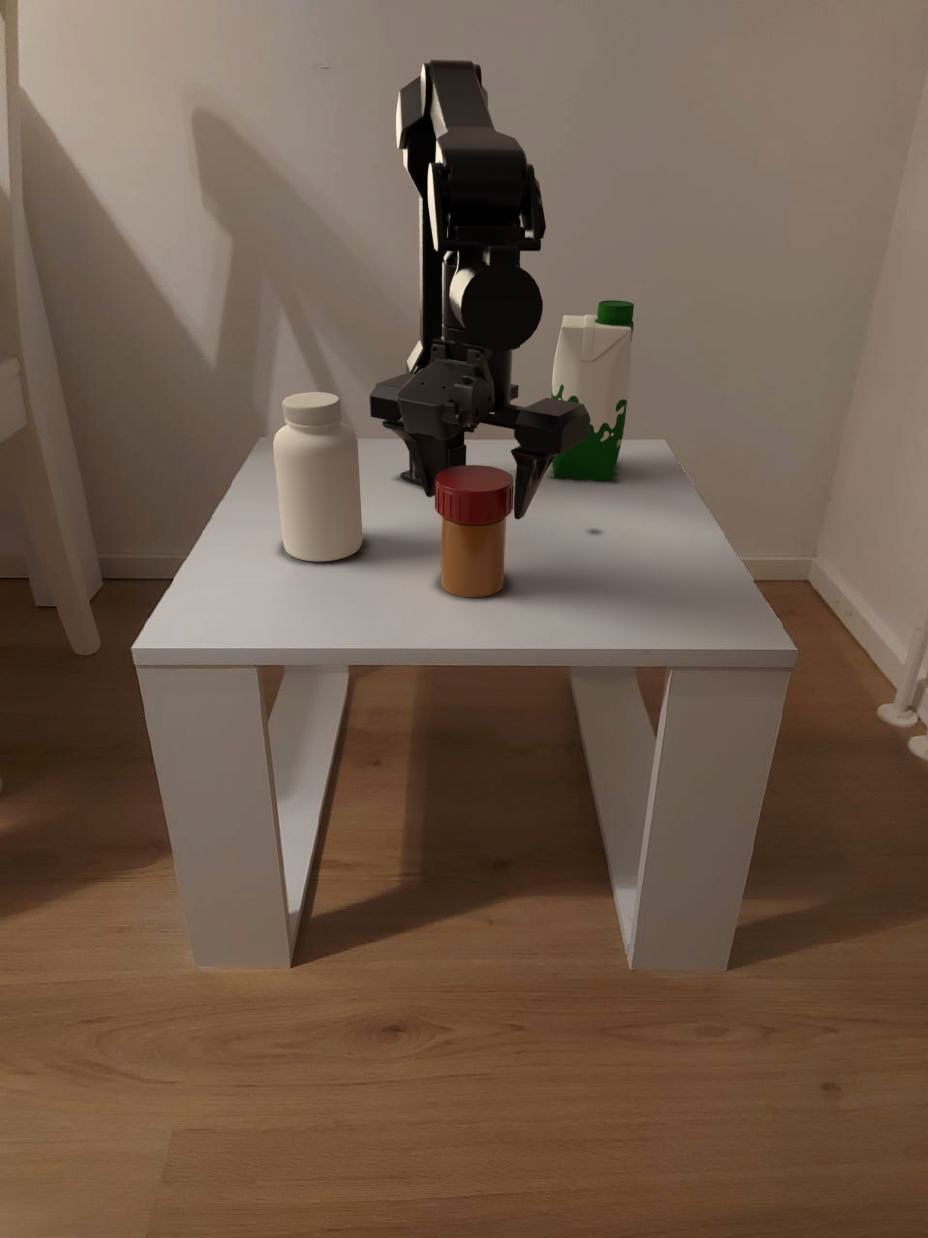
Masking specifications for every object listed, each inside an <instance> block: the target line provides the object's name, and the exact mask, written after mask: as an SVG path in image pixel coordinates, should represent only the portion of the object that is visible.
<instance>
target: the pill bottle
mask: <svg viewBox="0 0 928 1238" xmlns="http://www.w3.org/2000/svg"><path fill="white" fill-rule="evenodd" d="M281 404H282V414H283V417H284V422H285V423H286V425H285V424H284V426H282V427H281V428H280V429H279V430H278V431H277V432H276V433H275V435H274V438H273V443H272V447H273V458H274V467H275V478H276V489H277V497H278V508H279V517H280V528H281V538H282V543H283V548H284V549H285V551H286V553H287V554H288V555H289V556H291V557H294V558H295V559H297V560H302V561H307V562H331V561H337V560H340V559H341V560H342V559H345V558H347V557H349V556H352V555H353V554H355V553H356V552H357V551H359V549H360V548H361V546H362V543H363V519H362V500H361V497H362V496H361V479H360V478H361V477H360V459H359V458H360V457H359V442H358V438H357V435H356V432H355V431H354V430H353V429H352V428H351V427H350V426H348V425H347V424H345V423H344V422H342V421H343V415H342V403H341V399H340V397H339V396H338V395H336V394H333V393H329V392H323V391H309V392H300V393H295V394H291V395H288V396H287V397H285V398H284V399H283V400H282V403H281Z"/></svg>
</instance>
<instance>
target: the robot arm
mask: <svg viewBox="0 0 928 1238" xmlns="http://www.w3.org/2000/svg"><path fill="white" fill-rule="evenodd" d="M420 71H421V72H420V75H419V76H417V77H416V78H415V79H413V80H412V81H411V82H409V83H408V84H406V85H405V86H403V87H402V88H401V89H400V90H399V91H398V98H397V106H396V114H395V115H396V117H395V118H396V119H395V130H396V131H395V133H396V147H397V150H402V155H403V156H402V157H403V158H402V159H403V166H404V169H405V171H406V172H407V175H408V177H409V178H410V180H411V182H412V184H413V186H414V188H415V190H416V192H417V194H418V233H419V234H418V237H419V239H418V241H419V247H418V248H419V249H418V250H419V259H418V260H419V263H418V264H419V265H418V266H419V267H418V268H419V269H418V271H419V274H418V275H419V340H418V341H417V343H416V345H415V347H414V348H413V350H412V352H411V353H410V355H409V357H408V358H407V359H406V363H405V373H403V374H399V375H396V376H394V377H391V378H388V379H385V380H382V381H379V382H375V384H374V386H373V387H372V390H371V391H370V394H369V397H368V398H369V415H370V417H371V418H375V419H379V420H382V421H381V425H382V426H383V427H384V428H385V429H387V430H390V431H392V432H393V433H394V434H396V435H397V436H398V437H399V438H400V439H402V440H403V443H404V444H405V447H406V448H407V451H408V462H409V463H408V464H409V465H408V466H409V468H408V470H405V471H403V472H400V473H399V478H400V479H403V480H405V481H409V482H412V483H414V484H417V485H420V486H422V488H423V491H424V494H425V496H426V497H427V498H432V497H435V482H436V475H437V474H438V473H439V472H441V471H442V470H444V469H447V468H451V467H455V466H463V465H467V444H465V433H473V434H474V433H475V429H478V426H479V425H480V424H484V425H489V426H496V427H499V428H504V429H509V430H513V437H514V439H515V440H516V441H517V443H518V444H519V445H517V446H516V447H514V448H512V449H510V453H511V455H512V457H513V459H514V461H515V463H516V471H515V483H514V494H513V514H514V515H513V517H514V519H515V520H521V519H522V518H524V517H525V515H526V513H527V511H528V509H529V507H530V505H531V503H532V501H533V500H534V497H535V495H536V492H537V491H538V488H539V487H540V484H541V483H542V481H543V478H544V477H545V475H546V473H547V471H548V469H549V468H550V466H551V465H552V461H553V460H554V458H555V457H556V455H557V454H559V453H562V452H564V451H566V450H567V449H569V448H571V447H573V446H574V445H576V444H578V443H580V442H581V441H583V440H585V439H587V438H588V437H589V429H590V416H589V414H588V412H587V410H586V408H585V406H584V404H581V403H575V402H569V401H563V400H558V399H552V398H551V397H545V398H543V399H541V400H538V401H535V402H534V403H532V404H530V405H527V406H522V405H517V404H516V405H515V404H511V401H513V400H515V399H517V398H519V389H520V388H519V387H520V386H519V385H518V384H512V370H513V369H512V368H513V366H512V365H513V351H515V350H518V349H521V346H522V345H523V344H525V343H526V342H527V341H528V340H530V338H532V336H533V335H534V333H535V332H536V331H537V329H538V327H539V325H540V323H541V320H542V316H543V312H544V311H543V310H544V309H543V308H544V300H543V298H542V294H541V290H540V287H539V285H538V283H537V282H536V280H535V278H534V277H533V276H532V275H531V274H530V273H529V272H528V271H527V270H525V269H524V268H522V267H521V252H540V251H541V250H542V239H544V237H545V232H546V229H547V224H546V223H547V222H546V216H545V211H544V205H543V197H542V193H541V186H540V181H539V180H538V179H537V178H536V175H535V174H536V173H535V167H534V165H533V164H532V163H528V159H527V155H526V153H525V150H524V149H523V147H522V146H521V144H520V142H519V141H518V140H517V139H516V138H515V137H513V136H510V135H507V134H505V133H502V132H499V131H496V128H495V125H494V122H493V119H492V116H491V114H490V110H489V96H488V95H489V94H488V91H487V89H486V88H485V87H484V86H483V80H482V79H483V77H482V76H483V75H482V68H481V65H480V64H478V63H477V64H475V63H474V62H473V61H472V60H461V59H460V60H459V59H458V60H457V59H455V60H454V59H431V60H430V61H428V62H423V63H422V65H421V70H420ZM521 221H522V223H521ZM521 224H522V225H521Z"/></svg>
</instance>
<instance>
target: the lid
mask: <svg viewBox="0 0 928 1238" xmlns="http://www.w3.org/2000/svg"><path fill="white" fill-rule="evenodd" d="M514 494H515V485H514V478H513V475H512V474H511V473H510V472H508V471H507V470H504V469H502V468H499V467H495V466H490V465H483V464H466V465H463V466H455V467H451V468H447V469H444V470H442V471H441V472H439V473H438V474H437V475H436V482H435V495H434V509H435V511H436V513H437V514H438V515H439V516H440V517H441V516H442V517H444V518H446V519H449V520H453V521H457V522H463V523H488V522H494V521H498V520H501V519H503V518H505V517H506V518H507V517H508V516H510V514H512V511H513V510H514Z"/></svg>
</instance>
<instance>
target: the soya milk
mask: <svg viewBox="0 0 928 1238" xmlns="http://www.w3.org/2000/svg"><path fill="white" fill-rule="evenodd" d="M634 308H635V303H633V302H630V301H627V300H626V301H625V300H613V299H612V300H602V301H599V302H598V307H597V315H595V314H585V315H572V314H571V315H570V314H564V315H563V317H562V322H561V326H560V331H559V336H558V339H557V345H556V350H555V353H554V358H553V359H554V360H553V367H552V379H551V395H550V398H552V399H558V400H563V401H569V402H575V403H581V404H584V406H585V408H586V410H587V412H588V414H589V416H590V429H589V437H588V438H587V439H585V440H583V441H581V442H580V443H578V444H576V445H574V446H573V447H571V448H569V449H567V450H566V451H564V452H562V453H559V454H557V455H556V457H555V458H554V460H553V461H552V463H551V465H552V472H553V478H556V479H570V480H571V479H572V480H585V481H601V482H613V479H614V476H615V472H616V467H617V463H618V460H619V456H620V451H621V447H622V442H623V438H624V437H623V436H624V430H625V425H626V417H627V416H626V415H627V408H628V396H629V389H630V378H631V364H632V342H633V332H634V325H635V324H634V321H633V318H634Z"/></svg>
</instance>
